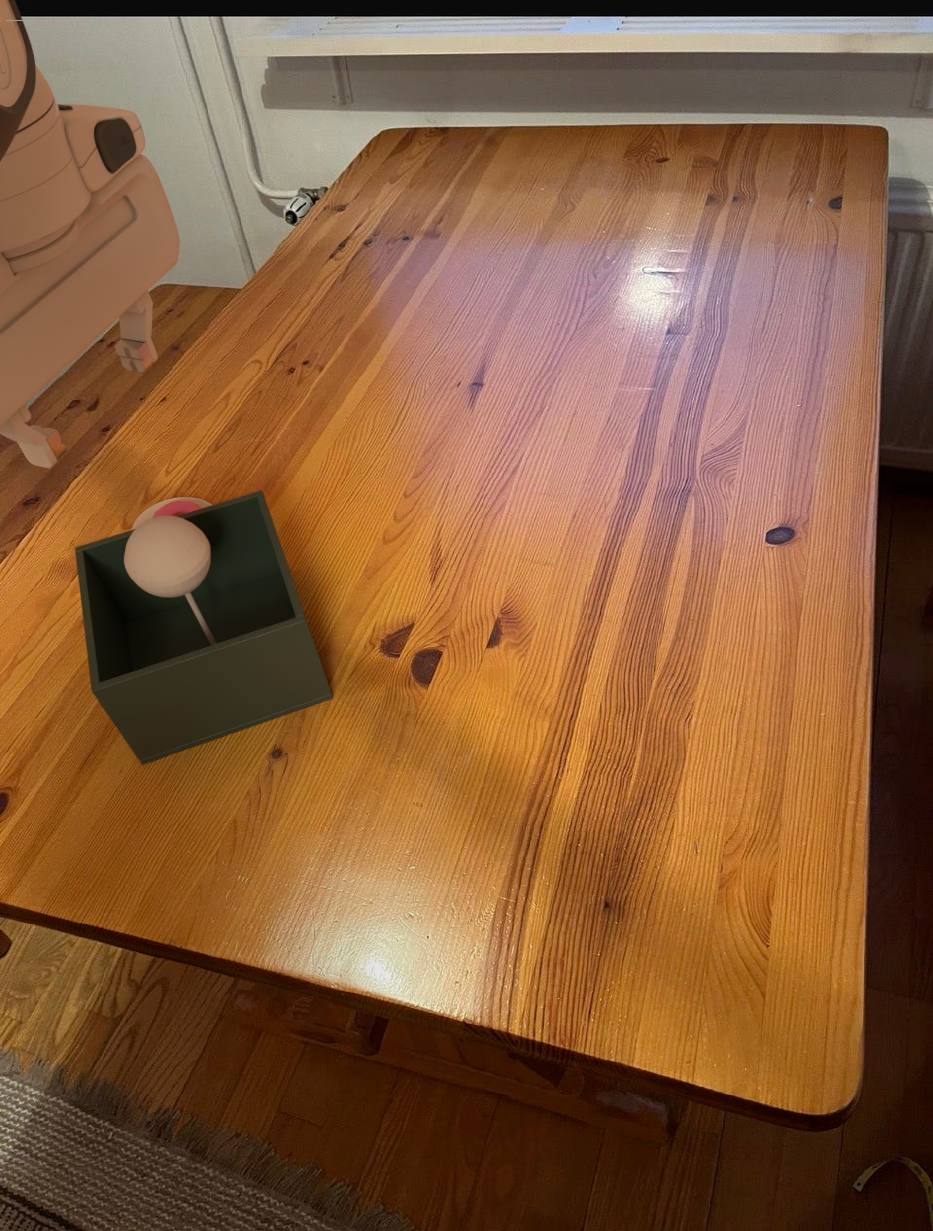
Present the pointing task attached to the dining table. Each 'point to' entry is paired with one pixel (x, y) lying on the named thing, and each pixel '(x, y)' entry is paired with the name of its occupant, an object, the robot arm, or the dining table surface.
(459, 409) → the dining table surface
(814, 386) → the dining table surface
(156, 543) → the lollipop
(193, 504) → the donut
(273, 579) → the bin
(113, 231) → the robot arm
